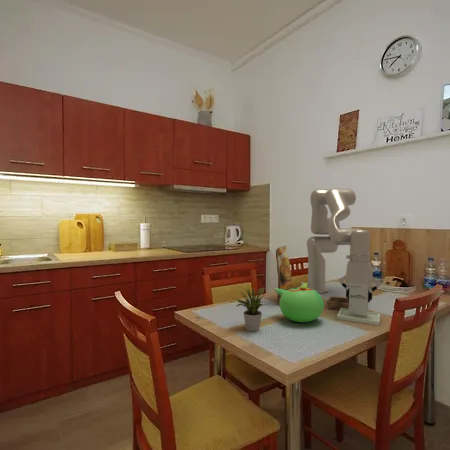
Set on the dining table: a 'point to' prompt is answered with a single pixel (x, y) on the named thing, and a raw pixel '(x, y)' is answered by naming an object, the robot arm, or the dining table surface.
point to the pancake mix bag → (283, 270)
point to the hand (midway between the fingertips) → (358, 299)
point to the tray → (359, 317)
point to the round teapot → (300, 303)
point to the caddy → (337, 303)
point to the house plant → (252, 309)
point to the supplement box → (358, 299)
